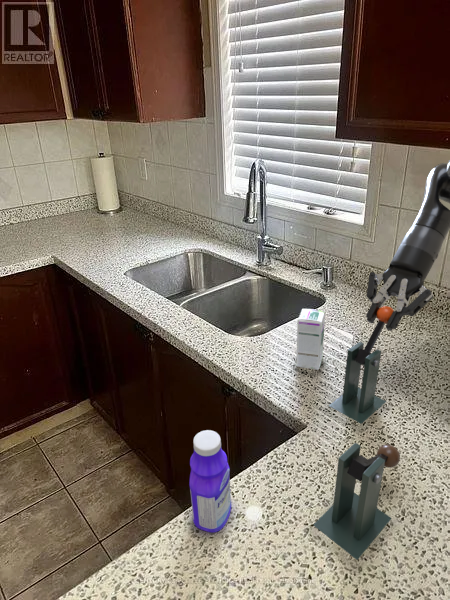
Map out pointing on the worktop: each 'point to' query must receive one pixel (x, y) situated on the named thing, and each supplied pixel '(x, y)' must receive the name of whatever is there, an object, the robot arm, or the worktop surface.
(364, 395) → the bracket
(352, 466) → the rod
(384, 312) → the rod
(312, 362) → the syrup box
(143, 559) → the worktop surface
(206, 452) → the bottle
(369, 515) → the bracket
